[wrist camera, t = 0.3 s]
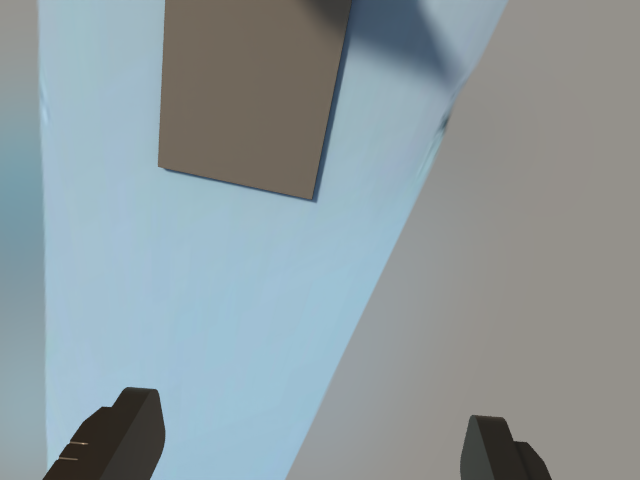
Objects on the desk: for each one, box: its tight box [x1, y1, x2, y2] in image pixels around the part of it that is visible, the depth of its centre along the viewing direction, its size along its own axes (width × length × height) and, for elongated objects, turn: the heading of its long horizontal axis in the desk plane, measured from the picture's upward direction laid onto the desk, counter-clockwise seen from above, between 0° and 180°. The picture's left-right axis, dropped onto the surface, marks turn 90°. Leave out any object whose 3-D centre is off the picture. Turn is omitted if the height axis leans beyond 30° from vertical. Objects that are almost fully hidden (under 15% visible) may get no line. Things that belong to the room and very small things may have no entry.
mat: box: [158, 0, 352, 200], centre depth 34 cm, size 16×13×1 cm
